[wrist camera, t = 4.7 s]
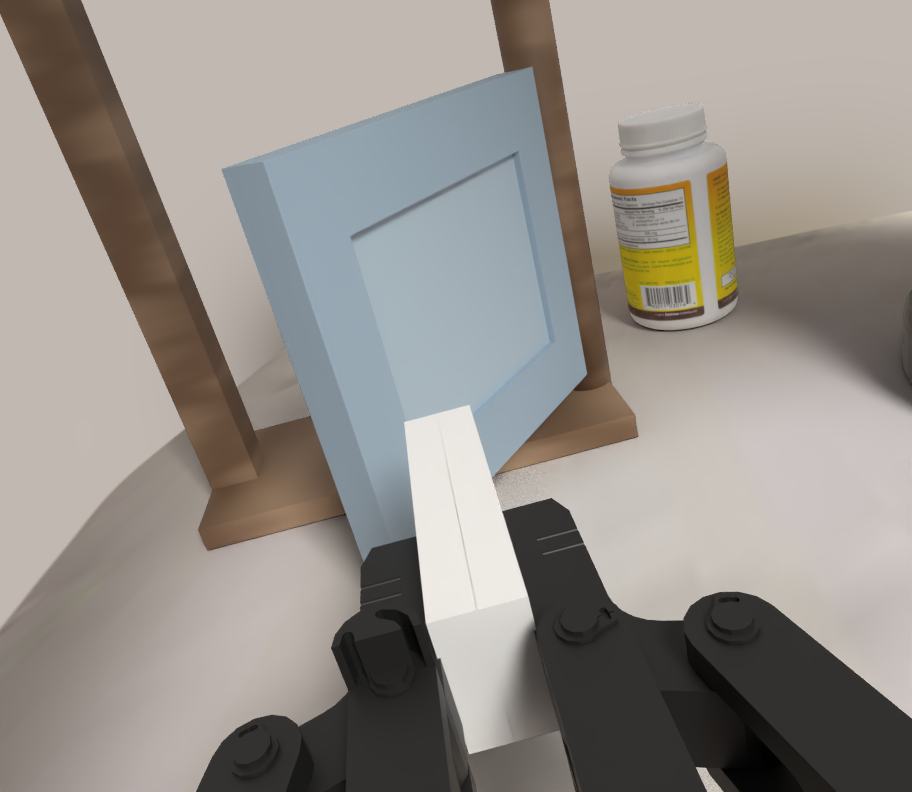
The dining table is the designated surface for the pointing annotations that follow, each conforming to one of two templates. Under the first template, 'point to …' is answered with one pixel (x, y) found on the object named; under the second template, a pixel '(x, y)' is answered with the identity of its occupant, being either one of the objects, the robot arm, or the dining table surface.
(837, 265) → the dining table surface
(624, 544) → the dining table surface
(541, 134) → the panel
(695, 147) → the supplement bottle
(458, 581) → the robot arm
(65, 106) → the gate frame
